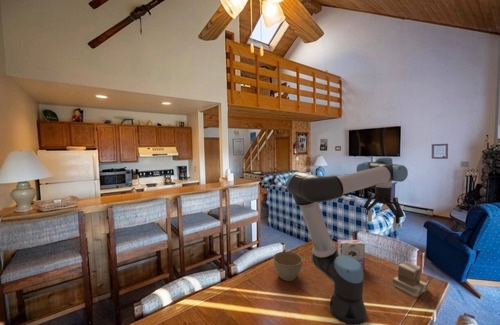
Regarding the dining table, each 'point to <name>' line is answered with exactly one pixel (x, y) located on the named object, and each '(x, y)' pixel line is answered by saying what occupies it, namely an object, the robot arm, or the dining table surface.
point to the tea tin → (409, 273)
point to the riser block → (410, 287)
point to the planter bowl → (288, 265)
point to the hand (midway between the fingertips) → (381, 225)
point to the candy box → (352, 249)
